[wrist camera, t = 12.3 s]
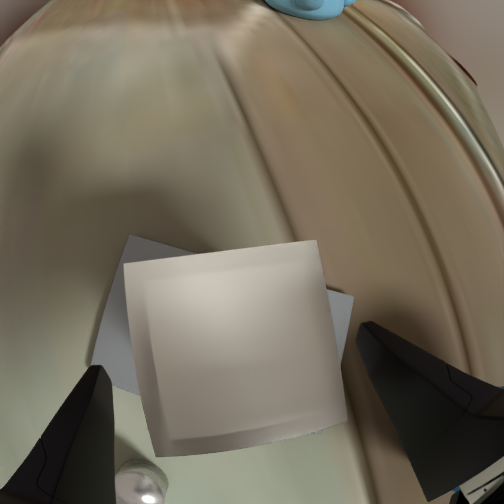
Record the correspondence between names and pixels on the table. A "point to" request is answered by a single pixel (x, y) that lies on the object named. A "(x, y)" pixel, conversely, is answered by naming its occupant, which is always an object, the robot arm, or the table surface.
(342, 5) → the teapot
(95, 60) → the table surface
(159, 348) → the cover
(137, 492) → the silver metallic cylinder
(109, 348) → the mat
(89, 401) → the robot arm
